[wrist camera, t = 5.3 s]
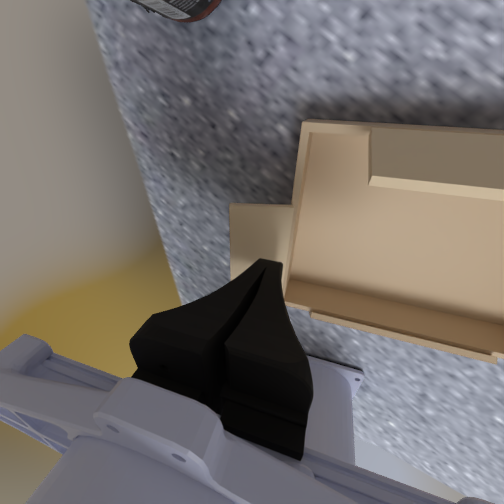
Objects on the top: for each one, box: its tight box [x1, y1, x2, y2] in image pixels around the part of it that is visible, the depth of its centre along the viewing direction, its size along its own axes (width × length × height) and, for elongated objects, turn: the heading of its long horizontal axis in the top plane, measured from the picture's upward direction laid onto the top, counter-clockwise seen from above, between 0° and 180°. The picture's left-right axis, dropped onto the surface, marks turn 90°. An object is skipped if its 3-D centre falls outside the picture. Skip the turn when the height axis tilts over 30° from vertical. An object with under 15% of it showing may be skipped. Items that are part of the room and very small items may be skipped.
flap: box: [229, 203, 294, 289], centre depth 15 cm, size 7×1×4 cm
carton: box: [282, 119, 504, 364], centre depth 14 cm, size 14×18×4 cm
